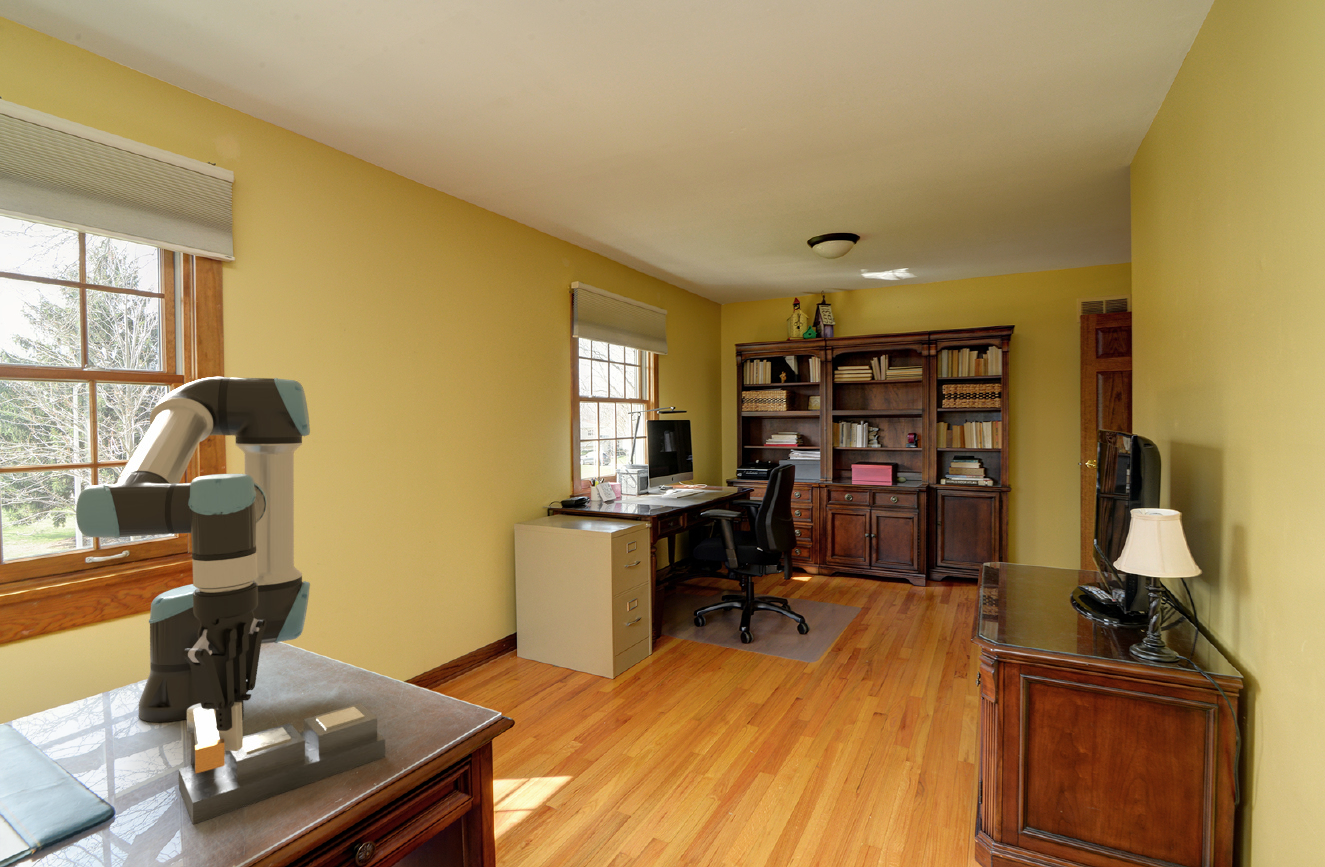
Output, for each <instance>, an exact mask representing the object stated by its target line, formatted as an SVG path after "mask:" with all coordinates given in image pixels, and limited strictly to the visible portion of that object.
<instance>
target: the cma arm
mask: <svg viewBox="0 0 1325 867" xmlns="http://www.w3.org/2000/svg"><path fill="white" fill-rule="evenodd" d="M186 731H187V733H190V734H191V733H194V737H195V744H196V745H195V773H200V772H203V771H207V770H211V769H214V768H218V767H222V766H224V755H225V750H224V738H223V739H220V738H219V731H218V730H217V728H216V710H215V709H203V708H202V706H201V703H199V704H196V705H193V706H191V707H189V708H188V709H187V719H186Z"/></svg>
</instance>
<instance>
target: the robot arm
mask: <svg viewBox="0 0 1325 867" xmlns="http://www.w3.org/2000/svg"><path fill="white" fill-rule="evenodd" d="M149 425H150V426H149V428H148V429H147V430H146V432H145V434H144V436H143V437H142V439H141V440H140V441H139V443H138V445H137V446H136V448H135V450H134V451H133V453H132V454H131V455H130V457H129V459H128V460H127V462H126V463H125V464H124V467H123V468H122V470H121V471H120V473H119V475H118V476H117V478H116V479H115V480H114V481H113V483H112V484H108V483H103V484H99V485H98V484H97V485H90V486H87V487H85V488H84V489H83V490H81V492H80V494H79V496H78V498H77V501H76V506H75V507H76V508H75V519H76V524H77V528H78V529H79V532H81V533H82V535H83V536H85V537H88V538H114V539H119V538H124V537H125V538H127V537H128V538H129V537H140V536H144V537H145V536H158V535H175V534H176V535H179V534H190V536H191V538H190V540H191V557H192V558H191V559H192V561H191V562H192V583H191V584H187V585H183V586H180V587H176V588H172V589H170V590H167V591H164V592H162V593H160V594H158V595H157V596H156V597H155V598H154V599H153V600H152V602H151V603H150V615H149V619H148V623H149V656H150V657H149V662H150V663H149V665H150V667H149V671H150V672H149V675H148V677H147V680H146V682H145V685H144V689H143V691H142V694H141V697H140V699H139V701H138V717H139V719H140V720H143V721H146V722H151V723H165V722H174V721H175V722H176V721H181V720H187V709H188V708H189V707H191V706H193V705H196V704H199V703H201V706H202V708H203V709H215V710H216V728H217V730H218V733H219V738H220V739H223V738H224V751H225V750H227V751H238V750H239V749H241V748H242V747H243V733H244V732H243V721H244V718H245V713H244V712H245V710H244V709H245V708H244V701H246V702H247V701H249V700H250V699H252V698H251V697H252V693H248V692H249V691H253V690H254V689H255V688H256V681H257V675H258V668H259V662H260V654H261V649H262V648H261V647H262V645H263V644H264V645H265V644H266V645H267V644H278V643H280V642H286V641H292V640H296V639H298V638H300V636H301V635H302V634H303V631H304V626H305V621H306V617H307V611H308V602H309V597H310V589H311V588H310V587H311V582H309V581H306V580H303V573H302V571H300V570H299V569H298V568H296V567H295V566H294V565H295V563H294V562H295V561H294V559H295V557H294V556H295V554H294V553H295V549H294V548H295V546H294V545H295V544H294V540H295V539H294V537H295V535H294V533H295V532H294V531H295V530H294V529H295V528H294V527H295V525H294V524H295V523H294V521H295V520H294V518H295V517H294V511H295V510H294V507H295V506H294V505H295V504H294V502H295V501H294V500H295V499H294V497H295V496H294V495H295V494H294V493H295V492H294V487H295V486H294V485H295V484H294V482H295V480H294V475H295V474H294V472H295V470H294V462H295V461H294V453H295V452H296V450H298V449H299V448H300V446H302V445H303V437H306V436H307V437H308V436H309V435H310V433H311V427H310V417H309V409H308V403H307V398H306V394H305V390H304V387H303V385H302V384H301V382H300V381H297V380H294V379H284V378H277V377H275V378H268V377H267V378H266V377H265V378H263V377H225V376H213V377H210V376H209V377H205V378H201V379H197V380H194V381H191V382H187V383H185V384H183V385H181V386H179V387H177V388H175V389H173V390H172V391H170V392H168V393H167V394H165V395H164V396H163V397H162V398H161V399H160V400H159V401H158V402H157V403H156V404H155V405H154V407H153V408H152V410H151V412H150V415H149ZM209 436H232V437H233V436H234V438H235V446H236V447H237V448H238V449H240V450H241V451H242V452H243V454H244V473H219V474H217V473H216V474H208V475H207V474H206V475H201V476H200V475H199V476H197V477H195V478H193V479H192V480H191V482H185V483H184V482H181V480H182V479H183V476H184V474H185V472H186V470H187V468H188V466H189V465H190V464H189V463H190V461H191V460H192V458H193V456H194V453H195V451H196V450H197V448H198V446H199V443H200V442H203V441H204V440H206V439H207V438H209ZM180 482H181V483H180Z"/></svg>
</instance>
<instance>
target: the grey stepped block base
mask: <svg viewBox="0 0 1325 867" xmlns="http://www.w3.org/2000/svg"><path fill="white" fill-rule="evenodd" d="M195 745H196V744H195V737H194V733H191V732H190V765H188V766H184V767H181V768H179V769H178V791H179V792H180V796H181V798H182V800H183V803H184V805H185V808H186V810H187V813H188V815H189V817H190V820H191V823H192V825H196V824H198V823H201V822H203V821H207V820H209V819H212V818H215V817H218V816H221V815H224V814H227V813H230V812H233V811H236V810H238V809H241V808H244V807H246V806H249V805H252V804H255V803H258V802H261V801H264V800H266V799H269V798H272V797H275V796H278V795H280V794H284V793H286V792H289V791H291V790H296V789H298V788H301V787H303V786H306V785H309V784H312V783H314V782H318V781H321V780H324V779H326V778H329V777H332V776H335V775H337V774H341V773H343V772H346V771H349V770H351V769H354V768H357V767H360V766H363V765H365V764H366V765H367V764H368V763H372V762H374V761H377V760H380V759H383V758H385V757H386V738H384V736H382V735H381V734H380V733H379V732H378V717H377V716H376V715H375V714H373V713H372V711H370V710H369V709H367V708H366V707H365V706H364V705H363V704H362V703H360V702H359V703H356V704H352V705H348V706H345V707H341V708H337V709H335V710H331V711H327V712H324V713H321V714H317V715H314V716H310V717H307V718H304V719H303V731H302V732H298V730H297V729H296V728H295V727H294V725H293V724H291V722H289V723H285V724H282V725H279V726H275V727H272V728H268V729H263V730H261V731H258V732H257V731H256V732H253V733H251V734H248V735H244V736H243V747H242V748H241V749H239V750H238V751H227V750H224V766H222V767H218V768H214V769H211V770H207V771H203V772H200V773H195Z"/></svg>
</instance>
